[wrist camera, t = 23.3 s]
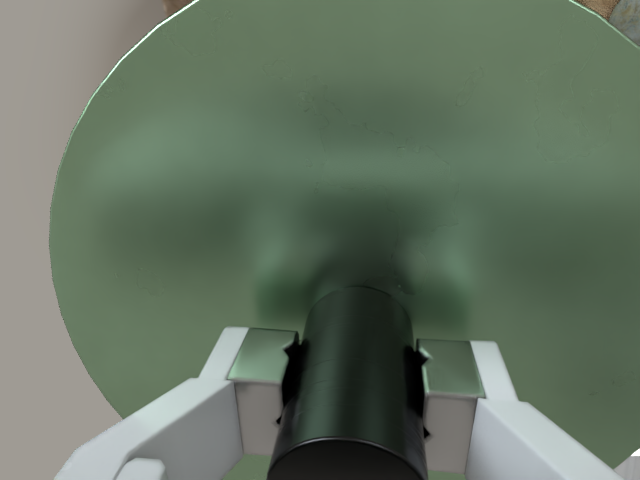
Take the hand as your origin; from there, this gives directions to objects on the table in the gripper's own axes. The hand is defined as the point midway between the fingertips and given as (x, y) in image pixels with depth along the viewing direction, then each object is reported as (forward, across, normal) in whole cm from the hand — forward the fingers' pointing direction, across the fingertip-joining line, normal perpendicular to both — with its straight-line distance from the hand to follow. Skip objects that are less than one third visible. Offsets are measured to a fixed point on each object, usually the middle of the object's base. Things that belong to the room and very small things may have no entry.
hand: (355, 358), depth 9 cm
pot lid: (+2, 0, 0) cm, 2 cm away
